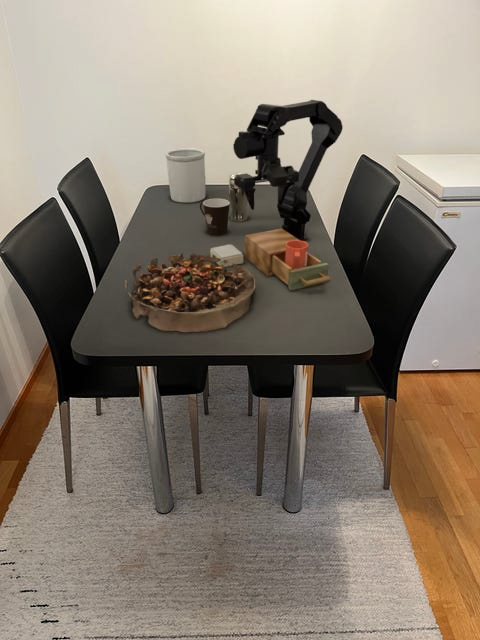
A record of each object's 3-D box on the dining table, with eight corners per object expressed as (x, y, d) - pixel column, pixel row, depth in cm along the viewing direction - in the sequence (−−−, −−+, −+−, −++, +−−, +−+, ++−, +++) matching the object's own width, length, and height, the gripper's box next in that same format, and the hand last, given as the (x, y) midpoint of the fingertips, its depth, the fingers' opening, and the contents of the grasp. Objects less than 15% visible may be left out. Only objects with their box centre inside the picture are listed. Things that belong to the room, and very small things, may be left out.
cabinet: (306, 267, 144) (307, 245, 140) (267, 276, 139) (268, 253, 135) (280, 249, 155) (281, 228, 151) (244, 256, 150) (244, 235, 146)
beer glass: (246, 222, 174) (247, 179, 167) (227, 221, 176) (226, 178, 168) (250, 215, 180) (250, 173, 172) (231, 214, 181) (231, 172, 174)
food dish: (141, 268, 145) (139, 243, 141) (255, 271, 145) (256, 246, 141) (110, 330, 115) (106, 299, 111) (254, 334, 114) (256, 304, 110)
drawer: (335, 288, 131) (337, 270, 128) (299, 297, 127) (300, 278, 124) (300, 262, 145) (301, 245, 142) (266, 270, 140) (266, 252, 138)
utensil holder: (164, 202, 193) (160, 156, 183) (174, 191, 205) (170, 146, 196) (202, 204, 191) (200, 157, 182) (209, 192, 203) (208, 148, 194)
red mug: (284, 266, 140) (286, 239, 136) (305, 267, 139) (307, 240, 135) (284, 280, 133) (286, 252, 129) (306, 281, 132) (308, 253, 128)
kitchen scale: (231, 253, 152) (231, 243, 151) (243, 263, 146) (243, 253, 145) (209, 257, 150) (209, 248, 148) (220, 267, 144) (220, 258, 142)
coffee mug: (233, 235, 165) (233, 205, 159) (208, 238, 162) (207, 208, 157) (222, 223, 174) (221, 194, 169) (198, 226, 172) (197, 197, 166)
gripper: (251, 163, 131) (250, 220, 139) (311, 156, 138) (307, 210, 146) (233, 154, 140) (233, 208, 148) (290, 147, 147) (288, 199, 155)
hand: (266, 207), depth 149 cm, fingers open, 9 cm apart
